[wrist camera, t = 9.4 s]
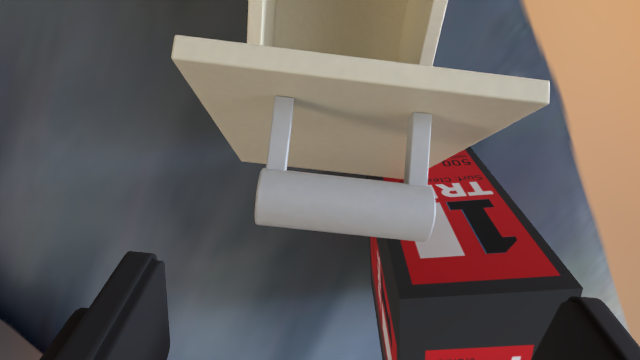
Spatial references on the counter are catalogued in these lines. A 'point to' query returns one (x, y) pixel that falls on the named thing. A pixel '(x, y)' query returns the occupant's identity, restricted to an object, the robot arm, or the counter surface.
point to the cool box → (350, 27)
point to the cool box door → (347, 129)
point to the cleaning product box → (467, 275)
